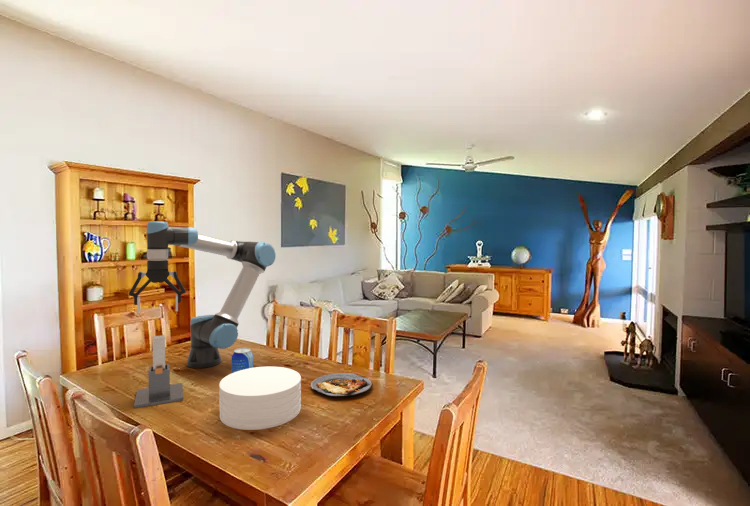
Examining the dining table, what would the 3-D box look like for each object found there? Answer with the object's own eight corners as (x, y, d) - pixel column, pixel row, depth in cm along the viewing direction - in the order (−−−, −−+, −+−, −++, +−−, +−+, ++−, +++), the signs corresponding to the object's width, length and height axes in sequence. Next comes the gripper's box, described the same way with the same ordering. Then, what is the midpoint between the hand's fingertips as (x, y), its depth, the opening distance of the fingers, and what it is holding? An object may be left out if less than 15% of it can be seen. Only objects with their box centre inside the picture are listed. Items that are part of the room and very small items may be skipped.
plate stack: (258, 438, 125) (257, 403, 124) (202, 415, 140) (202, 383, 139) (316, 406, 148) (316, 375, 148) (263, 389, 163) (263, 361, 163)
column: (166, 389, 158) (165, 334, 157) (166, 394, 154) (165, 337, 153) (153, 391, 156) (152, 336, 155) (152, 396, 152) (151, 339, 151)
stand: (182, 385, 166) (181, 356, 165) (183, 400, 152) (182, 368, 151) (137, 391, 159) (136, 361, 158) (133, 408, 144) (133, 375, 144)
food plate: (383, 387, 166) (383, 379, 165) (342, 406, 148) (341, 396, 148) (341, 374, 182) (341, 366, 182) (300, 389, 165) (300, 381, 165)
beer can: (257, 386, 166) (257, 348, 165) (244, 394, 158) (244, 354, 157) (240, 383, 168) (240, 346, 168) (227, 391, 161) (227, 351, 160)
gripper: (191, 258, 170) (191, 308, 171) (122, 259, 160) (123, 312, 161) (191, 260, 164) (191, 311, 165) (120, 260, 153) (120, 315, 154)
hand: (158, 311), depth 163 cm, fingers open, 13 cm apart
